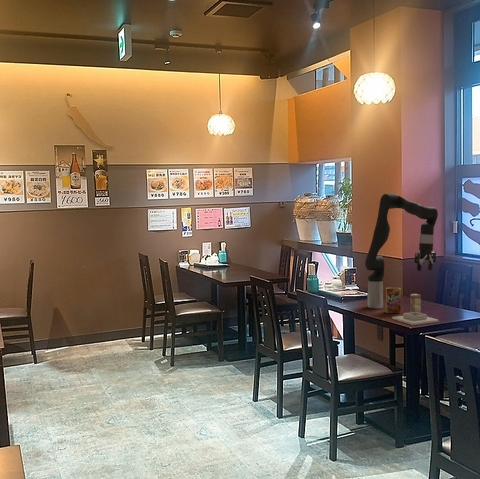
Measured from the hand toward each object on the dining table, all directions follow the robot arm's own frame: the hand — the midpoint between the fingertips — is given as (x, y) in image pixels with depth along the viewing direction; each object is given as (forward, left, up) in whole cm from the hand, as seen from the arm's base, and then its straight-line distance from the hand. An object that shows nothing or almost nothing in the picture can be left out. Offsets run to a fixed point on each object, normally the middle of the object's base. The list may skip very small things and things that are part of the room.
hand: (424, 270), depth 330 cm
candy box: (-26, -2, -29) cm, 39 cm away
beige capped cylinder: (-15, +6, -29) cm, 33 cm away
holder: (-2, -5, -29) cm, 29 cm away
